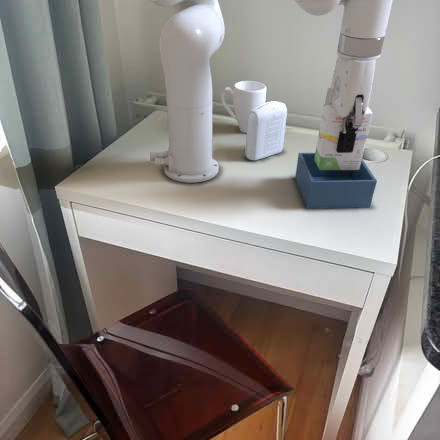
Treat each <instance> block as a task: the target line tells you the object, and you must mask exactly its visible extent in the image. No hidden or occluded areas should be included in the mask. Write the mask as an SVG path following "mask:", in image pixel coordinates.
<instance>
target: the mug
mask: <svg viewBox="0 0 440 440" xmlns="http://www.w3.org/2000/svg"><path fill="white" fill-rule="evenodd" d="M226 91H228V92H229V93H230V94H231V95H232V103H233V104H232V106H233V110H232V109H231V108H230V107H229V105H228V104H227V102H226ZM220 98H221V100H220V101H221V103H222V105H223V107H224V109H225V110H226V111H227V113H228V114H229V115H230V116H231V117H232V118H233V119H234V120H235V121H236V122H237V125H238V129H239V131H240V132H241V133H245V134H247V121H248V114H249V112H250V111H251V110H252V109H253V108H255V107H257V106H258V105H260V104H263V103H266V100H267V85H266V84H265V83H263V82H260V81H257V80H242V81H238V82H235V84H234V85H233V88H232V87H225V88H223V90H222V92H221V97H220ZM233 111H234V112H233Z"/></svg>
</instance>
